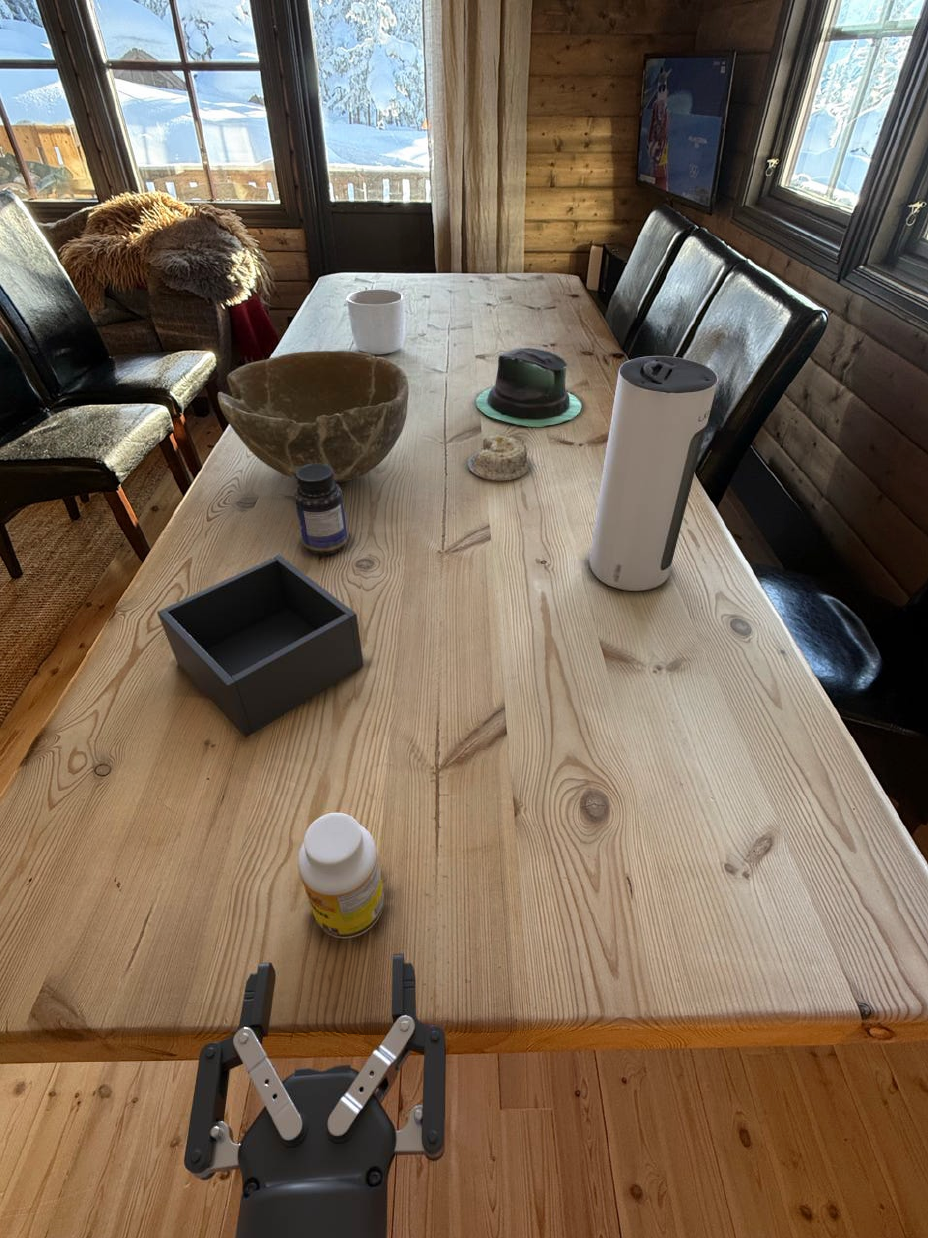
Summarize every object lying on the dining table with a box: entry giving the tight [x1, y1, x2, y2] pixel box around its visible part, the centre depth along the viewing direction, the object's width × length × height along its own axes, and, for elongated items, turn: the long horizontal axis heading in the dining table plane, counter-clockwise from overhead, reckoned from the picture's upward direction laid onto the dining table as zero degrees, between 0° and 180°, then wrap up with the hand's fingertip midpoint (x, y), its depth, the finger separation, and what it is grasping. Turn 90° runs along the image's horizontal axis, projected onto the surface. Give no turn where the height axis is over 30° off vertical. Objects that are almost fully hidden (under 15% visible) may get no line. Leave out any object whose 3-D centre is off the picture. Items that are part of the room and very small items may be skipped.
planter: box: [346, 288, 406, 355], centre depth 145 cm, size 12×12×11 cm
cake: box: [467, 434, 530, 482], centre depth 105 cm, size 10×10×5 cm
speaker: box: [588, 355, 719, 592], centre depth 77 cm, size 11×10×26 cm
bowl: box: [217, 350, 410, 484], centre depth 100 cm, size 28×27×15 cm
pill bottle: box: [293, 463, 349, 556], centre depth 86 cm, size 6×6×11 cm
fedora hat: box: [475, 347, 582, 428], centre depth 124 cm, size 15×19×20 cm
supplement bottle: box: [297, 812, 385, 939], centre depth 49 cm, size 6×6×10 cm
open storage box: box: [156, 554, 365, 739], centre depth 70 cm, size 15×15×8 cm
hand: (333, 962), depth 43 cm, fingers open, 8 cm apart
